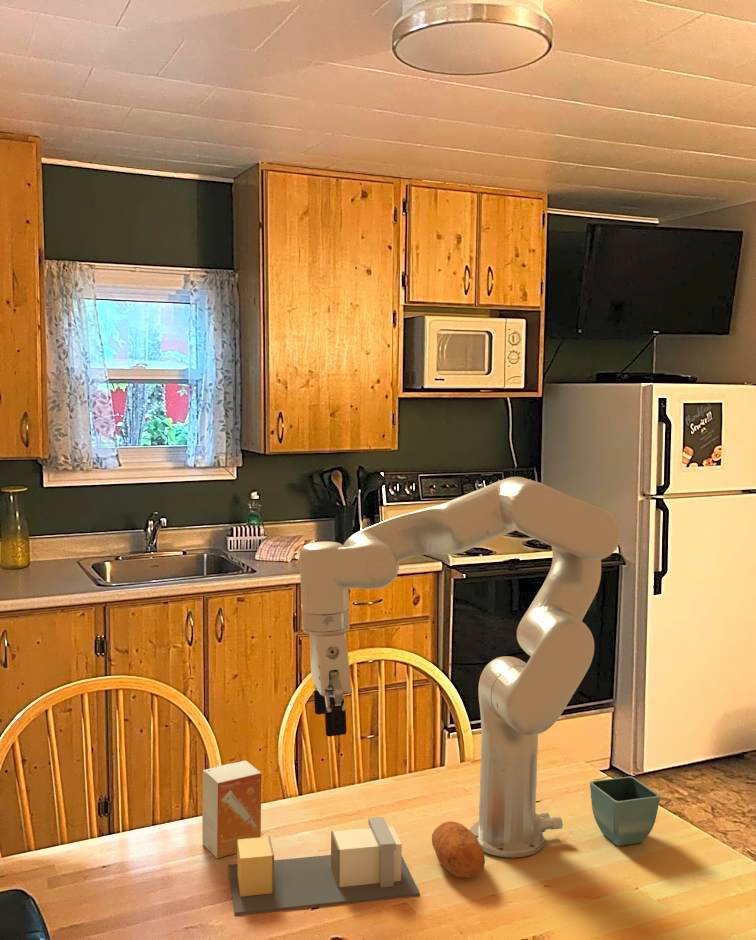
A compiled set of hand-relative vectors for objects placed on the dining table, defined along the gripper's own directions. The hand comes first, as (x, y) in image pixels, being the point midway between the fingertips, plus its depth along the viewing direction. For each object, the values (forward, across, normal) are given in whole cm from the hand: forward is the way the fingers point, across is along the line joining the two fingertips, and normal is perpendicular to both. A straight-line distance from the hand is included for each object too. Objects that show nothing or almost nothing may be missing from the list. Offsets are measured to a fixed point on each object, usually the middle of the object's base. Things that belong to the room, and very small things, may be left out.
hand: (330, 723), depth 155 cm
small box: (+22, +8, +16) cm, 29 cm away
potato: (+24, -7, -18) cm, 31 cm away
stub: (+22, -6, +14) cm, 27 cm away
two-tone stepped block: (+23, -7, -3) cm, 24 cm away
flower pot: (+26, -4, -49) cm, 56 cm away
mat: (+23, -7, +4) cm, 24 cm away
